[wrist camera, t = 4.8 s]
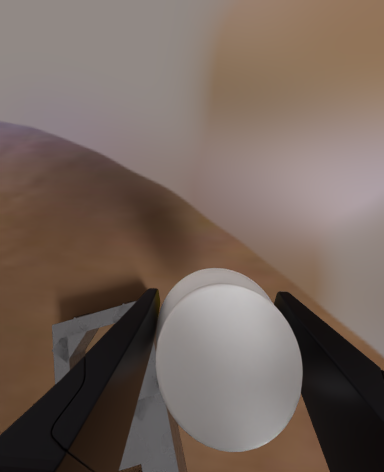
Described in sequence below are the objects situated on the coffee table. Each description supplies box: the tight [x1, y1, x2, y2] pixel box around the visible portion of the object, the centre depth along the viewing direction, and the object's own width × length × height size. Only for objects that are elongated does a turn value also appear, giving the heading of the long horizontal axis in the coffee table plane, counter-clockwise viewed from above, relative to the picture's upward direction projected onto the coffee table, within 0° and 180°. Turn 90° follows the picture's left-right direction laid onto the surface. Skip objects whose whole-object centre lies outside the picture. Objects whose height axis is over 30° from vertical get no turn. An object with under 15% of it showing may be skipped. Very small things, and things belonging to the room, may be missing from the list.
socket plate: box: [52, 301, 187, 472], centre depth 17 cm, size 20×10×2 cm, turn 15°
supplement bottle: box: [156, 268, 303, 452], centre depth 9 cm, size 5×5×10 cm
